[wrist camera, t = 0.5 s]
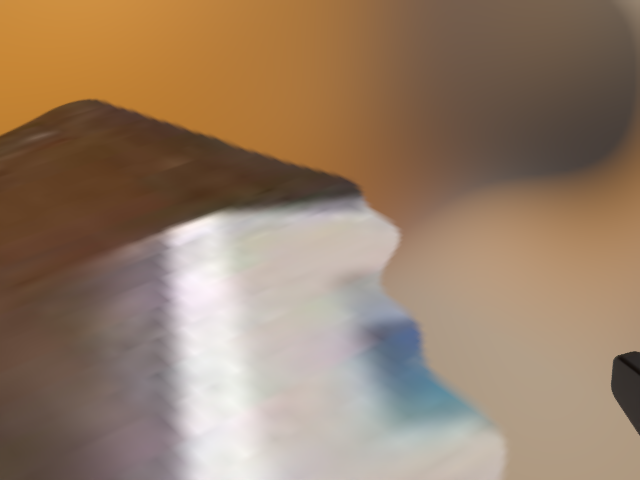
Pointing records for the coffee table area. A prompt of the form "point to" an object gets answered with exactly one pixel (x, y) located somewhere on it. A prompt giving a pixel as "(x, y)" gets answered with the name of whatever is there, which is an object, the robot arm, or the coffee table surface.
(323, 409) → the coffee table surface
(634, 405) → the robot arm
